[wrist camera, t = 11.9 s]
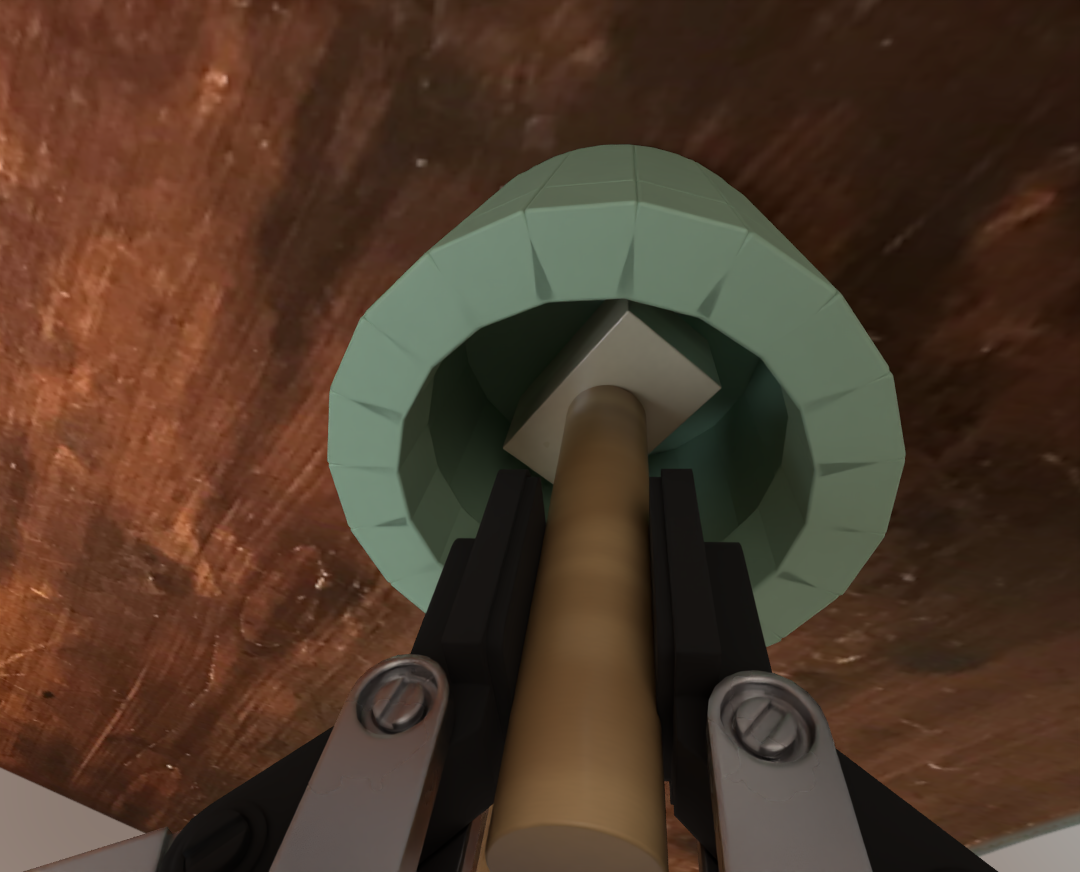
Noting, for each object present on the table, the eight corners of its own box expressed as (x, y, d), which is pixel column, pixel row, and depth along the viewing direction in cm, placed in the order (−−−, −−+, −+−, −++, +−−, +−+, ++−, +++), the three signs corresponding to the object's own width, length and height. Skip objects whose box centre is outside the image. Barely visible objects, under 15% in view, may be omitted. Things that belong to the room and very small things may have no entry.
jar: (422, 161, 17) (248, 230, 9) (803, 125, 15) (982, 173, 7) (476, 462, 22) (394, 667, 14) (764, 459, 20) (846, 690, 13)
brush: (628, 272, 16) (625, 712, 5) (708, 340, 17) (867, 862, 6) (519, 397, 18) (350, 882, 7) (593, 452, 19) (542, 972, 8)
